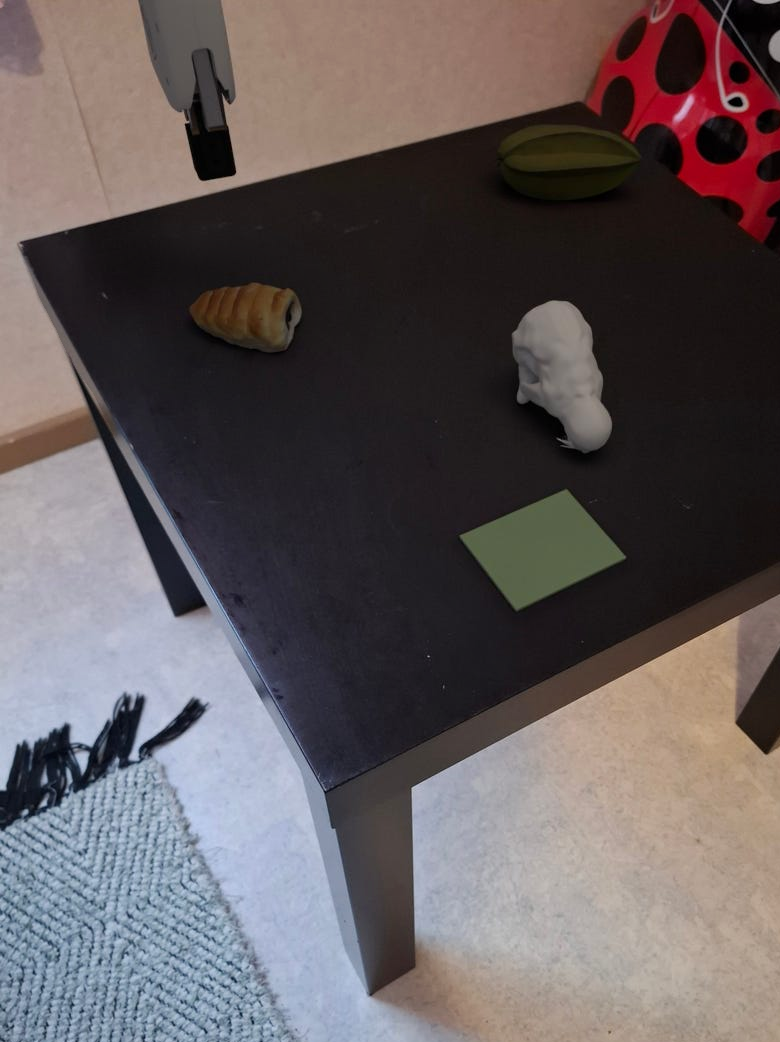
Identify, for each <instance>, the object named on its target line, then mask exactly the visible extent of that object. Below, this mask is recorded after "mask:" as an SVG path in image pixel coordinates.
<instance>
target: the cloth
mask: <svg viewBox="0 0 780 1042" xmlns="http://www.w3.org/2000/svg"><path fill="white" fill-rule="evenodd" d="M458 537H459V540H460V542H462V543H463V545H464V546H465V548H466V549H467V550H468V551H469V553H470V554H471V555H472V557H473V558H474V559H475V560H476V562H477V563H478V564H479V566H480V567H481V569H482V570H483V571H484V572H485V574H486V575H487V576H488V577H489V579H490V580H491V581H492V583H493V584H494V586H495V588H497V590H498V591H499V592H500V593H501V595H502V596H503V597H504V599H505V600H506V601H507V603H508V604H509V605H510V606H511V608H512V609H513V610H514V612H515V613H517V612H519V611H521V610H523V609H526V608H528V607H530V606H532V605H535V604H536V603H538V602H540V601H542V600H544V599H547V598H549V597H550V596H553V595H555V594H557V593H559V592H561V591H563V590H566V589H567V588H569V587H572V586H573V585H576V584H578V583H580V582H582V581H584V580H586V579H588V578H590V577H592V576H595V575H597V574H599V573H601V572H603V571H605V570H607V569H609V568H612V567H614V566H615V565H617V564H620V563H622V562H624V561H626V560H627V556H626V555H625V554H624V553H623V551H621V549H620V548H619V546H618V545H617V544H616V543H615V542H614V541H613V540H612V539H611V538H610V537H609V536H608V535H607V534H606V532H605V531H604V530H603V529H602V527H601V526H600V525H599V524H598V523H597V522H596V521H595V520H594V518H593V517H592V516H591V515H590V514H589V512H588V511H586V509H585V508H584V506H582V505H581V504H580V502H579V501H578V500H577V499H576V498H575V497H574V496H573V494H572V493H571V492H570V491H569V490H568V489H567V488H565V489H563V490H562V491H559V492H557V493H554V494H552V495H549V496H547V497H544V498H543V499H540V500H538V501H536V502H534V503H531V504H528V505H527V506H524V507H521V508H520V509H518V510H515V511H513V512H510V513H508V514H506V515H504V516H502V517H499V518H497V519H494V520H493V521H490V522H487V523H485V524H482V525H480V526H478V527H476V528H474V529H471V530H470V531H467V532H465V533H462V534H460V535H459V536H458Z"/></svg>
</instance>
